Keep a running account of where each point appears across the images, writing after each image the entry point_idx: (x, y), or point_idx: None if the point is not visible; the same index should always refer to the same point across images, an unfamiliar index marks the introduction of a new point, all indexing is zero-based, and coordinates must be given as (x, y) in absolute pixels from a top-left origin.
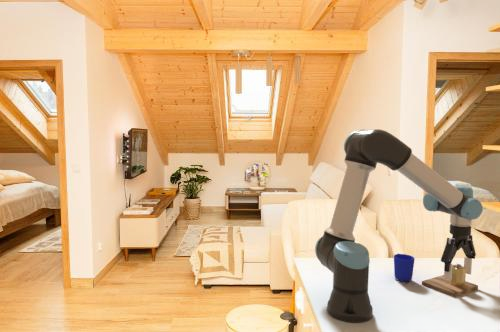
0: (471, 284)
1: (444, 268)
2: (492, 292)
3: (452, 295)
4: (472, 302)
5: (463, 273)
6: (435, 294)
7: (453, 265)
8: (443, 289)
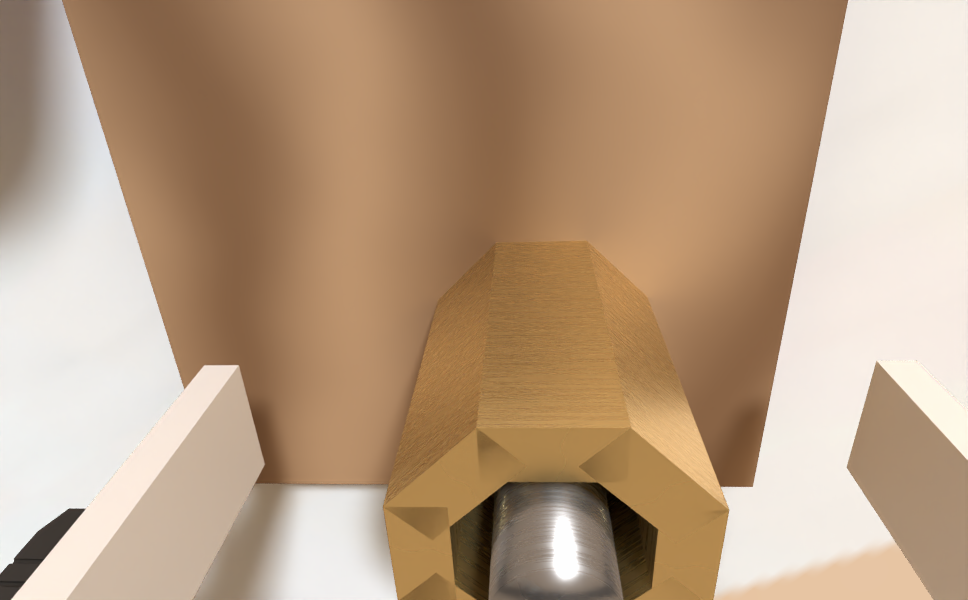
0: (712, 433)
1: (17, 560)
2: (770, 558)
3: None
4: (304, 578)
5: None
6: (58, 314)
7: (573, 457)
8: (177, 352)
